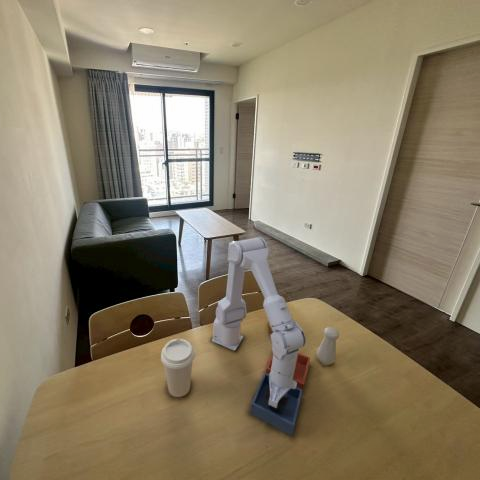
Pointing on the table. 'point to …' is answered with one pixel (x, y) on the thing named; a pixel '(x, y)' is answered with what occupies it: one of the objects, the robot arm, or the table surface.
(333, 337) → the salt shaker
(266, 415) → the blue bin
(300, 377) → the red bin
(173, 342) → the coffee cup
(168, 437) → the table surface
